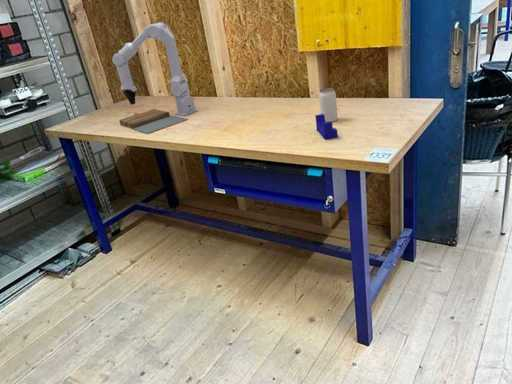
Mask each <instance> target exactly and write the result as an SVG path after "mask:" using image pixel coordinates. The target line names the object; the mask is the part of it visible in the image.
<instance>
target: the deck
mask: <svg viewBox="0 0 512 384" xmlns="http://www.w3.org/2000/svg"><path fill="white" fill-rule="evenodd" d="M150 110H151V114H150V115H147V116H144V117H137V116H135V115H134V114H133V115H132V116H128V117H126V118H125V117H124V118H123V119H122V118H121V119H119V125H120V126H123V127H126V128H129V129H132V130H133V129H134V128H137V127H139V126H142V125H145V124H148V123H151V122H154V121H157V120H160V119H163V118H166V117H169V116H171V115H170V111H166V110H160V109H155V108H153V109H150Z"/></svg>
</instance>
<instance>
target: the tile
mask: <svg viewBox="0 0 512 384" xmlns="http://www.w3.org/2000/svg"><path fill="white" fill-rule="evenodd" d="M151 110H152V109H147V108H141V109H140V110H139V109H138V110H136V111H134V112H133V116H134V115H135V116H137V117H144V116H147V115H150V114H151Z"/></svg>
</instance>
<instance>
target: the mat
mask: <svg viewBox="0 0 512 384" xmlns="http://www.w3.org/2000/svg"><path fill="white" fill-rule="evenodd" d="M188 120H189V118H185V117H182V116H181V117H180V116H176V115H170V116H169V117H166V118H163V119H160V120H157V121H154V122H151V123H148V124H145V125H142V126H139V127H137V128H134V129H132V131H136V132H139V133H143V134H147V135H149V134H153V133H155V132H158V131H161V130H163V129H167V128H169V127H172V126H175V125H177V124H180V123H182V122H185V121H188Z"/></svg>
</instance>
